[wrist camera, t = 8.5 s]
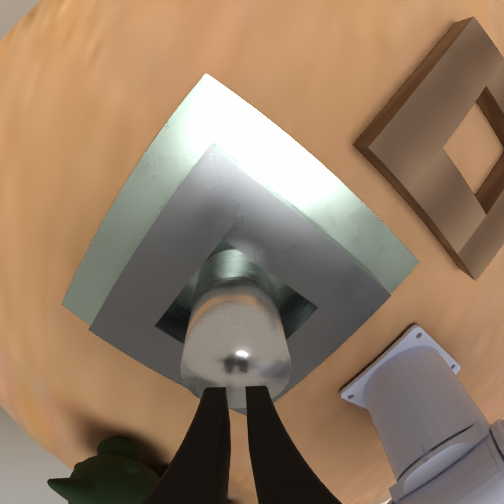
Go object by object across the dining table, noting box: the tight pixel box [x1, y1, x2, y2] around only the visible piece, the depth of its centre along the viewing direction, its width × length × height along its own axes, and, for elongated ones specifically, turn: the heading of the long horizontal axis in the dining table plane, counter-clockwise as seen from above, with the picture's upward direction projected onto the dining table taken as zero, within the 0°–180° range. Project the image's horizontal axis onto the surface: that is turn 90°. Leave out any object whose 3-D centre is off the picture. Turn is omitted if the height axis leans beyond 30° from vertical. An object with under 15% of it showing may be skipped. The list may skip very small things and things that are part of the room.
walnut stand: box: [353, 17, 504, 281], centre depth 14 cm, size 12×12×2 cm
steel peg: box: [180, 249, 292, 408], centre depth 14 cm, size 4×4×7 cm
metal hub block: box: [62, 74, 419, 416], centre depth 16 cm, size 16×16×4 cm
